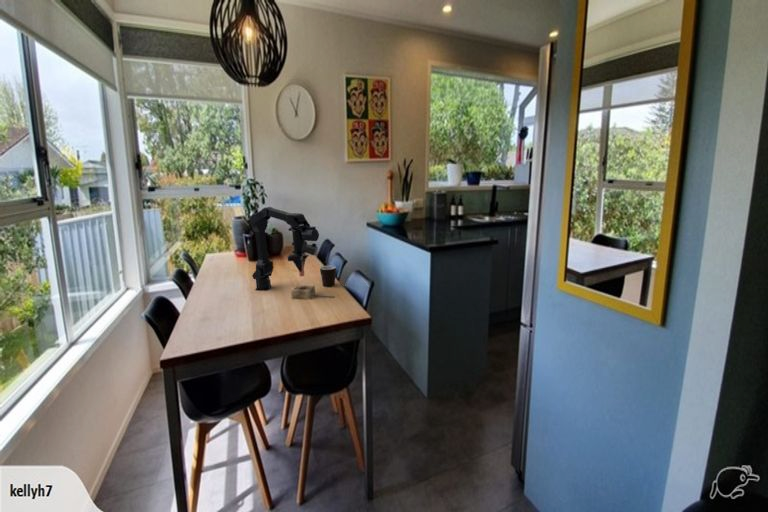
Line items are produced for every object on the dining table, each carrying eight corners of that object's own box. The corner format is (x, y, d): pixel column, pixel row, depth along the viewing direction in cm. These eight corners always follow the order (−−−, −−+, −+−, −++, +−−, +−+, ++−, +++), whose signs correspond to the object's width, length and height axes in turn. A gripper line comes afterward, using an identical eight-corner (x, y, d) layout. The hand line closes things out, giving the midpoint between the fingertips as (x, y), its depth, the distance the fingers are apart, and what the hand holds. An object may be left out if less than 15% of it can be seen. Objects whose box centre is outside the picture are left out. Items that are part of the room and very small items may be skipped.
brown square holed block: (291, 298, 181) (291, 291, 180) (298, 292, 189) (297, 285, 188) (309, 299, 180) (309, 291, 179) (315, 293, 188) (314, 285, 188)
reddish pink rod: (298, 276, 182) (297, 258, 180) (300, 275, 184) (298, 257, 182) (303, 276, 181) (302, 258, 179) (305, 275, 184) (303, 257, 182)
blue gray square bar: (313, 296, 184) (313, 295, 184) (314, 295, 185) (314, 294, 185) (333, 297, 181) (333, 297, 181) (334, 297, 182) (334, 296, 182)
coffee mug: (333, 288, 196) (332, 270, 193) (318, 287, 197) (317, 269, 195) (340, 281, 207) (339, 264, 204) (326, 280, 208) (325, 263, 206)
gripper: (309, 243, 169) (311, 276, 172) (320, 236, 187) (322, 266, 190) (285, 243, 170) (288, 276, 173) (299, 236, 188) (301, 266, 191)
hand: (301, 270), depth 182 cm, fingers closed on reddish pink rod, 2 cm apart
